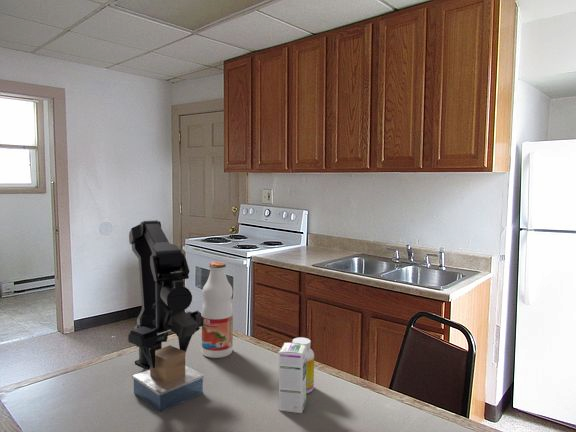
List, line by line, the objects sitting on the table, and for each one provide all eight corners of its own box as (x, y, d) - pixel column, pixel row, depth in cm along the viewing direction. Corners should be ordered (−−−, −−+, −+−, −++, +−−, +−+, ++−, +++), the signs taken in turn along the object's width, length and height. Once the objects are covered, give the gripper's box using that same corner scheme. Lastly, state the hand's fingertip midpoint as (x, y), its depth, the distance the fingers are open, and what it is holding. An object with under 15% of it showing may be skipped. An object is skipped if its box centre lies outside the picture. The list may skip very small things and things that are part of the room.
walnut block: (150, 376, 105) (150, 352, 104) (170, 367, 110) (169, 345, 109) (165, 383, 101) (165, 359, 101) (185, 374, 106) (185, 351, 106)
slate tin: (132, 394, 106) (132, 375, 105) (175, 377, 115) (175, 360, 114) (159, 414, 97) (159, 393, 97) (203, 394, 107) (203, 375, 106)
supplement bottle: (317, 386, 111) (318, 338, 110) (307, 397, 105) (309, 347, 104) (294, 380, 114) (295, 334, 113) (283, 391, 108) (284, 342, 107)
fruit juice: (239, 351, 132) (239, 262, 129) (216, 361, 124) (216, 267, 122) (218, 343, 138) (218, 258, 135) (195, 352, 130) (195, 263, 128)
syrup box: (302, 414, 98) (303, 353, 97) (277, 410, 99) (278, 350, 98) (306, 401, 103) (307, 343, 102) (282, 398, 105) (283, 341, 103)
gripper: (156, 316, 92) (157, 386, 93) (218, 297, 107) (218, 357, 108) (126, 306, 98) (127, 371, 100) (188, 290, 113) (188, 346, 115)
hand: (168, 361), depth 105 cm, fingers open, 9 cm apart
